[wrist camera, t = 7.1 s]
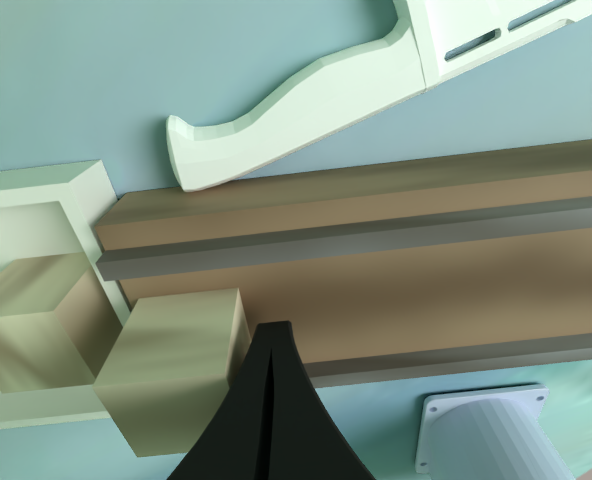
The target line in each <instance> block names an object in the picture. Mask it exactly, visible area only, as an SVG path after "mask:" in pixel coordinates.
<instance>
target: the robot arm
mask: <svg viewBox="0 0 592 480" xmlns="http://www.w3.org/2000/svg"><path fill="white" fill-rule="evenodd" d="M548 394H549V389H548V388H547V387H546V385H544V384H536V385H527V386H517V387H507V388H498V389H488V390H479V391H469V392H459V393H450V394H440V395H431V396H428V397H427V398H426V399H425V401H424V406H423V413H422V420H421V426H420V433H419V440H418V447H417V453H416V460H415V470H416V472H417V473H419V474H425V473H429V474H430V477H431V479H432V480H576V479H575V477H574V476H573V474H572V473H571V471H570V470H569V468H568V467H567V465H566V464H565V462H564V461H563V459H562V458H561V456H560V455H559V453H558V452H557V451H556V449H555V448H554V446H553V445H552V443H551V442H550V440H549V439H548V437H547V436H546V434H545V433H544V431H543V430H542V428H541V427H540V425H539V424H538V422H537V419H538V417H539V415H540V412H541V410H542V408H543V406H544V403H545V401H546V399H547V397H548ZM166 480H376V479H375V478H374V477H373V475H372V474H371V473H370V472H369V471H368V469H367V468H366V467H365V465H364V464H363V463H362V462H361V460H360V459H359V458H358V456H357V455H356V454H355V452H354V451H353V450H352V448H351V447H350V446H349V444H348V443H347V441H346V440H345V438H344V437H343V435H342V434H341V432H340V431H339V429H338V428H337V426H336V425H335V423H334V422H333V420H332V419H331V417H330V415H329V414H328V412H327V410H326V409H325V407H324V405H323V404H322V402H321V400H320V398H319V396H318V395H317V393H316V391H315V389H314V387H313V385H312V383H311V381H310V379H309V377H308V375H307V372H306V370H305V368H304V365H303V363H302V360H301V358H300V356H299V353H298V350H297V347H296V344H295V341H294V337H293V330H292V323H291V322H290V321H289V320H286V321H277V322H267V323H259V324H258V325H257V326H256V329H255V332H254V335H253V338H252V341H251V344H250V346H249V349H248V351H247V354H246V356H245V358H244V360H243V363H242V365H241V367H240V369H239V372H238V374H237V376H236V378H235V379H234V381H233V383H232V385H231V387H230V389H229V391H228V393H227V395H226V396H225V398H224V400H223V402H222V403H221V405H220V407H219V408H218V410H217V412H216V413H215V415H214V416H213V418H212V420H211V421H210V423H209V424H208V425H207V427H206V428H205V430H204V431H203V433H202V434H201V436H200V437H199V439H198V440H197V441H196V443H195V444H194V446H193V447H192V448H191V449H190V451H189V452H188V453H187V455H186V456H185V457H184V458H183V460H182V461H181V462H180V463H179V465H178V466H177V467H176V469H175V470H174V471H173V472H172V474H171V475H170V476H169V477H168V478H167V479H166Z"/></svg>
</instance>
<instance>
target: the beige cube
mask: <svg viewBox="0 0 592 480" xmlns="http://www.w3.org/2000/svg"><path fill="white" fill-rule="evenodd" d="M250 344H251V338H250V334H249V330H248V326H247V321H246V317H245V313H244V309H243V305H242V301H241V297H240V292H239V288H232V289H223V290H214V291H204V292H195V293H186V294H177V295H167V296H158V297H149V298H140V299H138V301H137V303H136V305H135V307H134V309H133V310H132V312H131V314H130V316H129V318H128V320H127V322H126V324H125V326H124V327H123V329H122V331H121V333H120V335H119V337H118V339H117V341H116V342H115V344H114V346H113V348H112V350H111V352H110V354H109V356H108V358H107V359H106V361H105V363H104V365H103V367H102V369H101V371H100V373H99V374H98V376H97V378H96V380H95V382H94V384H93V386H92V388H93V390H94V391H95V393H96V395H97V396H98V398H99V399H100V401H101V402H102V404H103V405H104V407H105V408H106V410H107V411H108V413H109V414H110V416H111V418H112V419H113V421H114V422H115V424H116V425H117V427H118V428H119V430H120V431H121V433H122V434H123V436H124V438H125V439H126V441H127V442H128V444H129V445H130V447H131V448H132V450H133V451H134V453H135V454H136V456H137V457H147V456H157V455H167V454H177V453H186V452H189V451H190V449H191V448H192V447H193V446H194V444H195V443H196V441H197V440H198V439H199V437H200V436H201V434H202V433H203V431H204V430H205V428H206V427H207V425H208V424H209V423H210V421H211V420H212V418H213V416H214V415H215V413H216V412H217V410H218V408H219V407H220V405H221V403H222V402H223V400H224V398H225V396H226V395H227V393H228V391H229V389H230V387H231V385H232V383H233V381H234V379H235V378H236V376H237V374H238V372H239V369H240V367H241V365H242V363H243V360H244V358H245V356H246V354H247V351H248V349H249V346H250Z"/></svg>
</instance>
